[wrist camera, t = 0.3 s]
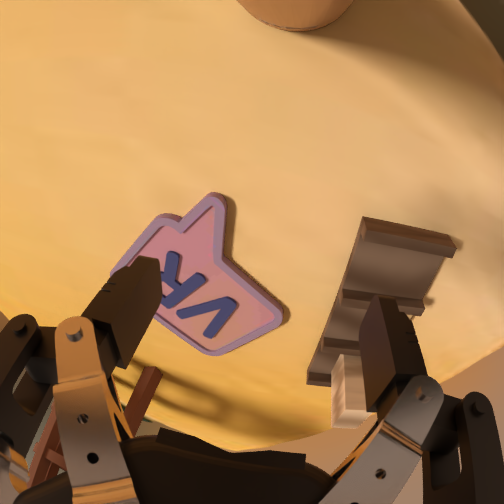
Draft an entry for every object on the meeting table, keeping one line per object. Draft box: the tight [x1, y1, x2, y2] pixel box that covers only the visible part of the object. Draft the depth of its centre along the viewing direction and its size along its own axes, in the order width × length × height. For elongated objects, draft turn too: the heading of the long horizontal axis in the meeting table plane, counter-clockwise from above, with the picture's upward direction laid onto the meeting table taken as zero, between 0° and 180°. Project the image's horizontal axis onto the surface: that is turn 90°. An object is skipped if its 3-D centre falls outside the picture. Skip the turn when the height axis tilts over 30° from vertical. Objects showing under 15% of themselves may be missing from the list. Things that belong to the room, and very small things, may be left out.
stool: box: [27, 366, 163, 489], centre depth 38 cm, size 20×35×20 cm
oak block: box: [331, 354, 372, 428], centre depth 35 cm, size 6×4×9 cm, turn 175°
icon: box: [110, 192, 283, 356], centre depth 35 cm, size 19×2×20 cm
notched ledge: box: [306, 217, 457, 387], centre depth 34 cm, size 26×10×2 cm, turn 175°
